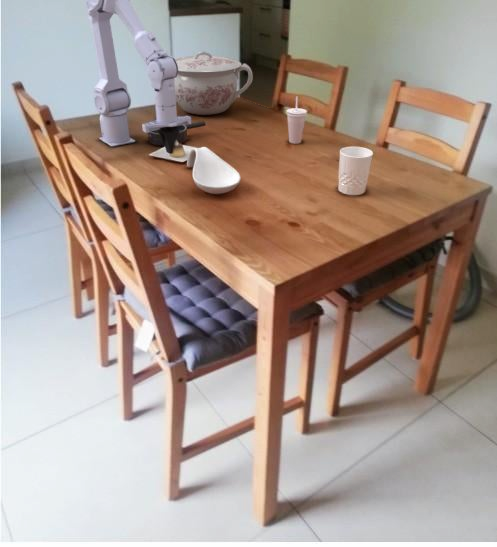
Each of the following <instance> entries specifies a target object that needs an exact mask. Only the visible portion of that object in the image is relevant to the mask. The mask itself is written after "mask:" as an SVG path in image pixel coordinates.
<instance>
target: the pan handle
mask: <svg viewBox="0 0 497 547" xmlns="http://www.w3.org/2000/svg"><path fill="white" fill-rule="evenodd" d="M184 125H185V126H186V127H187V130H192V129H197V128H201V127H205V126H206V121H204V120H200V121H197V122H191V124H184Z"/></svg>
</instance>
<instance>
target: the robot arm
mask: <svg viewBox="0 0 497 547" xmlns="http://www.w3.org/2000/svg"><path fill="white" fill-rule="evenodd" d="M85 5H86V11H87V15H88V19H89V24H90V29H91V34H92V40H93V45H94V52H95V57H96V63H97V69H98V74H99V81H98V82H97V84H96V85H95V86H94V87H93V92H94V96H93V104H94V108H95V109H96V110H97V111H98V113H99V127H100V131H101V136H100V137H99V140H100V141H102V142H103V143H105V144H107V145H108V146H110V147H112V148H113V147H118V146H123V145H127V144H133V143H136V140H135V139H134V138H132V137H130V129H129V122H128V114H127V113H128V112H129V108H130V107H131V104H132V99H131V94H130V93H129V90H128V85H127V83H125V82H124V81H123V80H121V79H120V75H119V70H118V63H117V57H116V51H115V44H114V39H113V32H112V25H111V19H112V17H113V15H114V14H115V15H117V16H118V18H119V19H120V20H121V21H122V23H123V24H124V26H125V27H126V29H127V30H128V31H129V32H130V34H131V35H132V36H133V38H134V40H133V45H134V47H135V48H136V51H137V52H138V54H139V55H140V57H141V58H142V59H143V61H144V62H145V63H146V66H147V68H146V72H147V76H148V78H149V80H150V84H151V85H150V86H151V87H152V89H153V96H154V97H153V98H154V105H155V107H154V108H155V117H156V119H155V120H152V121H149V122H146V123H142V124H141V126H142V128H141V129H142V132H143V133H146V134H147V133H148V132H149V131H154V130H157V132H158V133H159V135H160V136H161V138H162V140H163V143H164V145H165V146H164V147H165V148H166V152H167V153H169V154H171V153H173V147H174V143H175V139H176V137H177V135H178V133H179V128H177V126H179V125H185V124H191V123H192V117H191V116H190V115H182V116H178V111H177V110H178V109H177V101H176V95H175V81H174V78H176V77H177V75H178V65H177V62H176V60H175V59H176V58H175V57H173V56H172V55H170V54H168V52H165V51H164V49H163V47H162V46H161V44H160V43H159V41H158V39H157V37H156V35H155V34H154V33H153V32H151V31H149V30H146V29H145V27H144V25H143V24H142V22H141V19H140V18H139V16H138V14H137V12H136V11H135V9H134V7H133V5H132V3H131V1H130V0H85Z"/></svg>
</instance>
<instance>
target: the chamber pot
mask: <svg viewBox="0 0 497 547" xmlns="http://www.w3.org/2000/svg"><path fill="white" fill-rule="evenodd" d="M175 60H176V62H177V65H178V75H177V77H176V78H174V81H175V95H176V104H177V105H178V106H179V108H180V109H181V110H182V111H184V112H186V113H187V114H191V115H195V116H214V115H215V116H216V115H218V114H222V113H224V112H226V111H227V110H228V109H229V108H230V107H231V105H232V104H233V103H234V102H235V101H236V99H237V98H238V97H240V95H241V94H243V93H244V92H245V91H247V90H248V88H249V87H250V86H251V84H252V82H253V79H254V75H253V71H252V69H251V67H250V66H249V65H248V64H247V63H242V62H240V61H239V60H236V59H234V58H230V57H225V56H219V55H212V54H211V53H210V52H207V51H203V50H202V51H198V52H197V53H196V54H195V55H190V56H183V57H177V58H175ZM242 71H246V72H247V73H248V74H247V76H248V78H247V80H246V83H245V84H244V85H243V87H242V88H240V89H238V85H239V84H238V83H239V82H238V80H239V77H240V76H239V73H240V72H242Z"/></svg>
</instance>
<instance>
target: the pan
mask: <svg viewBox="0 0 497 547" xmlns="http://www.w3.org/2000/svg"><path fill="white" fill-rule="evenodd" d="M177 128H179V133H178V135H177V137H176V139H175V141H176V140H177V141H178V143H181V144H182V145H183V144H184V143H185V142H187V141H188V129H187V127H186V126H185V124H184V125H179V126H177ZM146 135H147V141H148V142H149V143H150V144H152V145H153V146H154V145H155V146H159V147H165V145H164V143H163V140H162V138H161V136H160V135H159V133H158V132H157V130H154V131H149V132H148V133H146Z"/></svg>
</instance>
